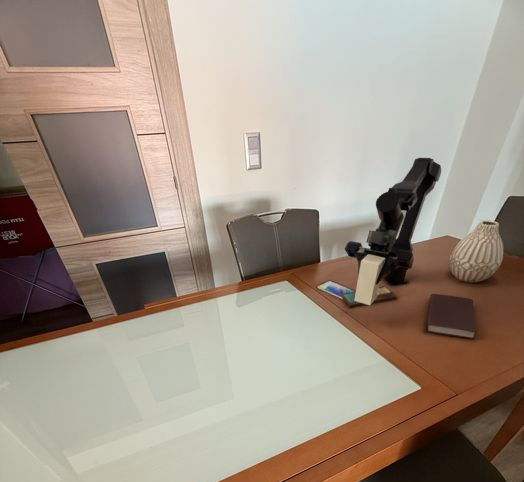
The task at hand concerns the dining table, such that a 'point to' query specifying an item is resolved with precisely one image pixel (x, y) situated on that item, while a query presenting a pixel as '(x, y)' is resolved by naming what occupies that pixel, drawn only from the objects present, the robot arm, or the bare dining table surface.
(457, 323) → the book
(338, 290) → the smartphone
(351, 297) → the word board
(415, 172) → the robot arm
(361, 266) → the letter I
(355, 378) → the dining table surface
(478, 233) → the vase
